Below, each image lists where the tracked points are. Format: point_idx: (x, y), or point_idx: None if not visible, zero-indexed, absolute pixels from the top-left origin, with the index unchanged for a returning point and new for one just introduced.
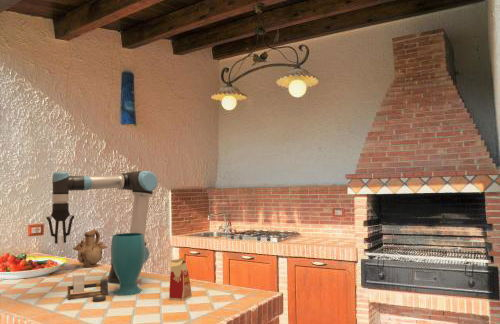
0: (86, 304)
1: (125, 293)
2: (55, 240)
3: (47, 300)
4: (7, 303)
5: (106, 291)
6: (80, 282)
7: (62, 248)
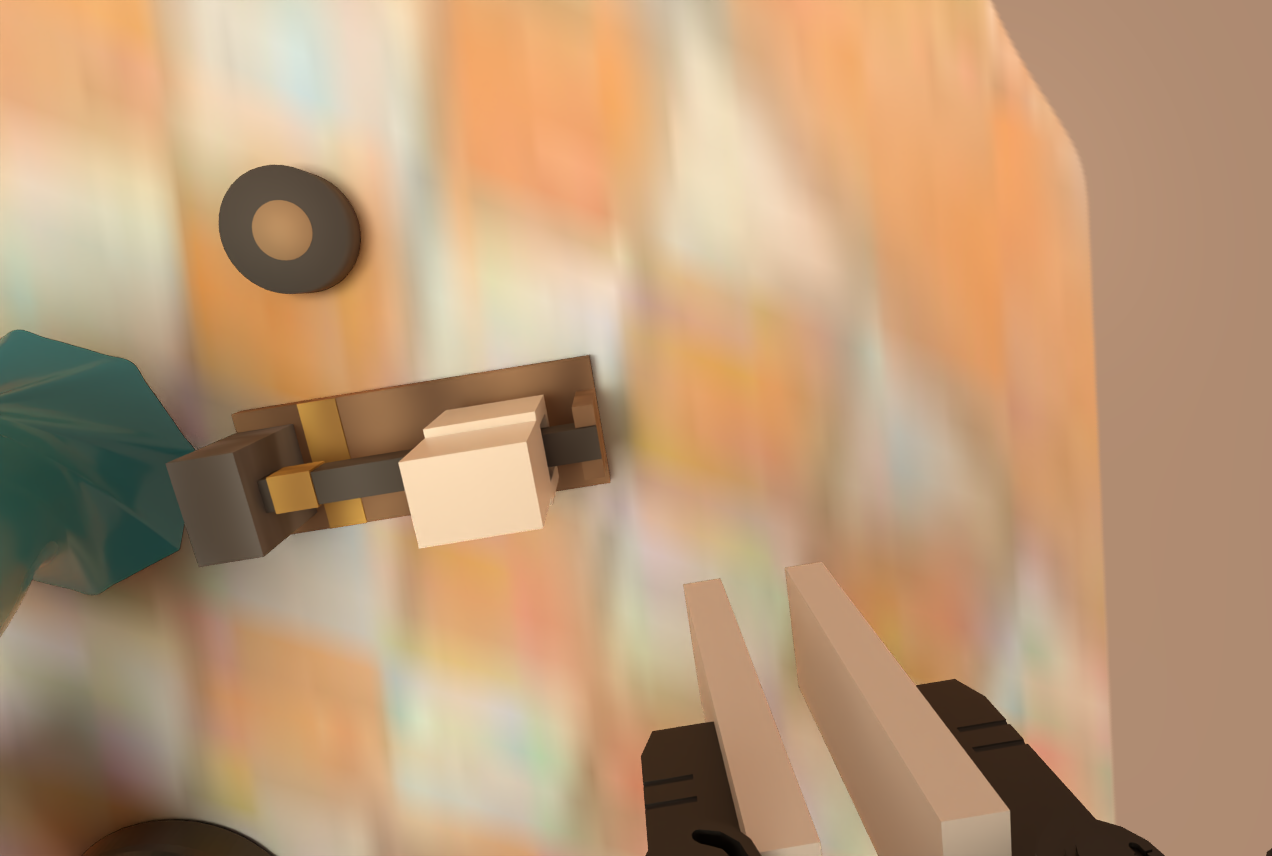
0: (406, 117)
1: (59, 361)
2: (1010, 747)
3: (766, 404)
4: (1075, 419)
5: (242, 433)
6: (461, 433)
7: (716, 599)
